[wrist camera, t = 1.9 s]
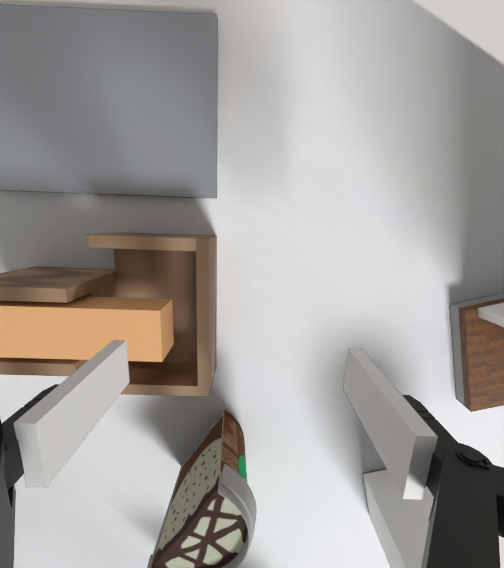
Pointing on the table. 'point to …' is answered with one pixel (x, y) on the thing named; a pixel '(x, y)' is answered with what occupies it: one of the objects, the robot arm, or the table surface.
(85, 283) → the pocket block
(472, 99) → the table surface
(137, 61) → the mat
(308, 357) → the table surface
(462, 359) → the white cabinet tower
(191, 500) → the food container
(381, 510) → the milk carton
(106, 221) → the table surface
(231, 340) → the table surface
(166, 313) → the tan wooden beam
